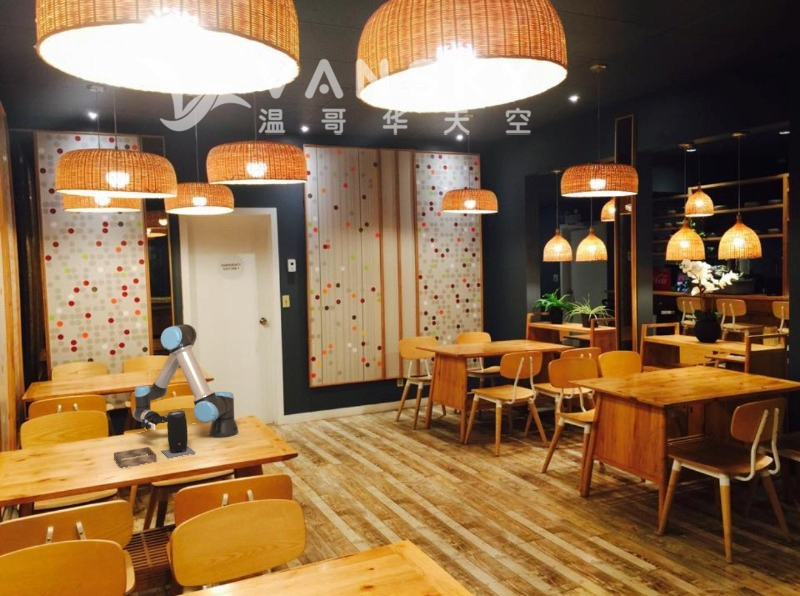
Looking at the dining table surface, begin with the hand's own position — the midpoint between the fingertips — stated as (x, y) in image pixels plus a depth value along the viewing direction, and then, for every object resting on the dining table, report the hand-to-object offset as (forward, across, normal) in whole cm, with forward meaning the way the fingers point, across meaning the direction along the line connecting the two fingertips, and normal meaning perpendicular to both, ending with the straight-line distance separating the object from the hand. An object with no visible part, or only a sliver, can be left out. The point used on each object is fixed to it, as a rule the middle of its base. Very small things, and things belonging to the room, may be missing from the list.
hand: (167, 424), depth 323 cm
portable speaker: (+11, 0, -12) cm, 16 cm away
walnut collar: (+7, +20, -12) cm, 24 cm away
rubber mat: (+11, 0, -12) cm, 17 cm away
